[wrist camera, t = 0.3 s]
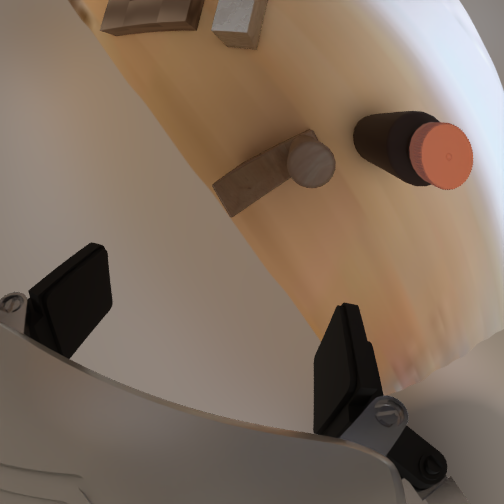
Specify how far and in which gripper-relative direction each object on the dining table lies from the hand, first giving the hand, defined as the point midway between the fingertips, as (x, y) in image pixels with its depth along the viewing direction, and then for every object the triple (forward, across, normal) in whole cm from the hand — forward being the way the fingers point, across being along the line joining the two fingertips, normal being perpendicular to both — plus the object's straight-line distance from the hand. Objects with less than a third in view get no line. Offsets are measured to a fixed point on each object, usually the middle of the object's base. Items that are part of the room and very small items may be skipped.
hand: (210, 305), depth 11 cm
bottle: (+30, -13, -8) cm, 34 cm away
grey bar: (+30, +7, -21) cm, 38 cm away
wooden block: (+30, -1, -2) cm, 30 cm away
